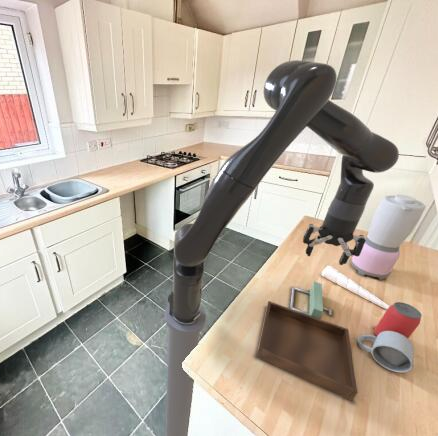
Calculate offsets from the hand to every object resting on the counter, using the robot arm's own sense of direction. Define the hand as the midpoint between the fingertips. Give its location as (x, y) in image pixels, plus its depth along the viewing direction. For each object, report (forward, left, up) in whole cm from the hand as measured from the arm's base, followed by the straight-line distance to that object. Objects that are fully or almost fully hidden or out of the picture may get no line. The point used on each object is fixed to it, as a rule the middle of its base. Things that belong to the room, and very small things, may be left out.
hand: (324, 259), depth 76 cm
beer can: (+21, -4, -19) cm, 28 cm away
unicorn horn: (+15, +14, -19) cm, 28 cm away
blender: (+21, +33, -19) cm, 43 cm away
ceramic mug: (+18, -12, -19) cm, 29 cm away
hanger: (+2, -1, -19) cm, 19 cm away
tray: (-1, -20, -19) cm, 27 cm away
